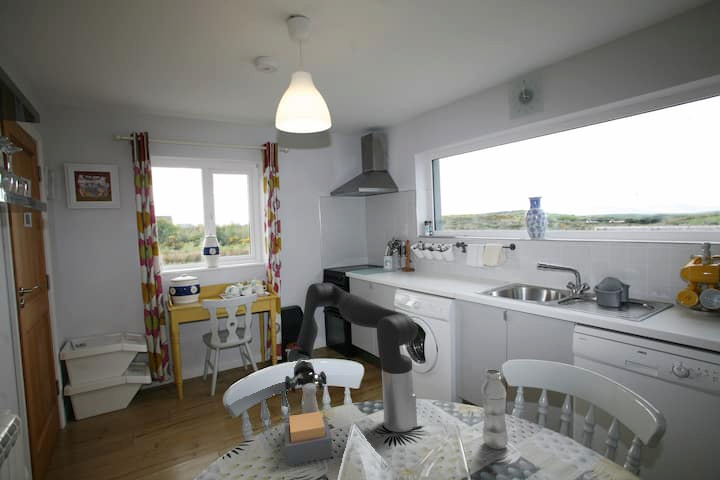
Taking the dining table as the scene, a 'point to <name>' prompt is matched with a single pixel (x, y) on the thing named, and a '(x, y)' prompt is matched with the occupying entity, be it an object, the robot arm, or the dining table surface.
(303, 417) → the orange block
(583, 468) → the dining table surface
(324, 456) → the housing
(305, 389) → the salt shaker
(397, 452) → the dining table surface
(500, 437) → the plastic bottle
